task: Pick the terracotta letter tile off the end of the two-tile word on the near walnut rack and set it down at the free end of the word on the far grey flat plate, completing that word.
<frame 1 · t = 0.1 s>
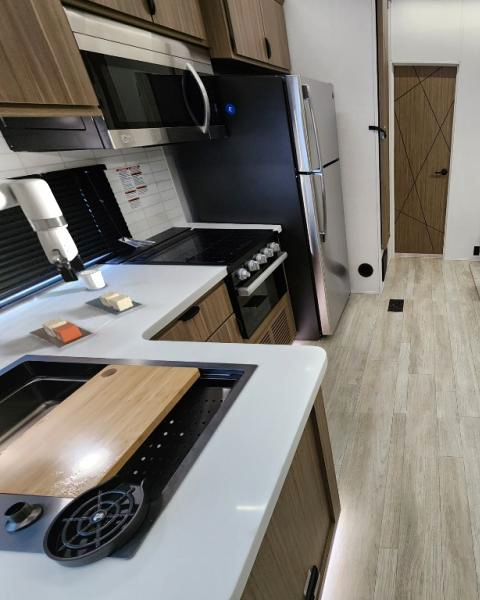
hand: (76, 275, 106), 19 cm above the worktop, tool pointing down, fingers open, 9 cm apart
terracotta tile: (70, 337, 107), point 1 cm above the worktop, touching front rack
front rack: (61, 334, 110), on the worktop
front cream tile: (59, 332, 110), point 1 cm above the worktop, touching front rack
shot glass: (96, 287, 142), on the worktop
back tile b: (113, 303, 127), point 1 cm above the worktop, touching grey flat plate
back tile a: (123, 307, 125), point 1 cm above the worktop, touching grey flat plate
grey flat plate: (113, 304, 128), on the worktop
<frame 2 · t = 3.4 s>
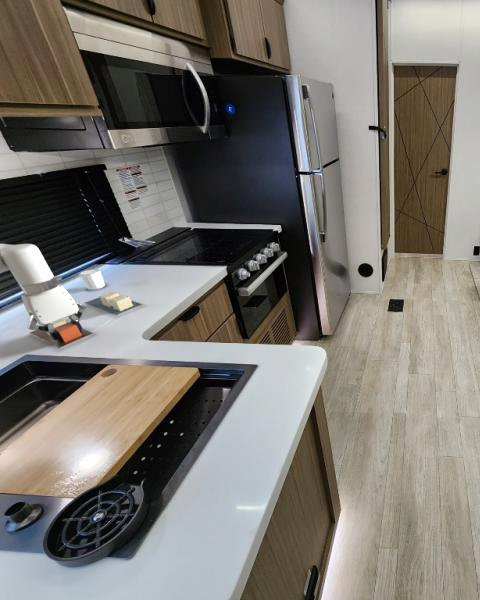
hand: (69, 335, 107), 1 cm above the worktop, tool pointing down, fingers closed on terracotta tile, 4 cm apart
terracotta tile: (70, 337, 107), point 1 cm above the worktop, touching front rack, gripper
everything else where it was.
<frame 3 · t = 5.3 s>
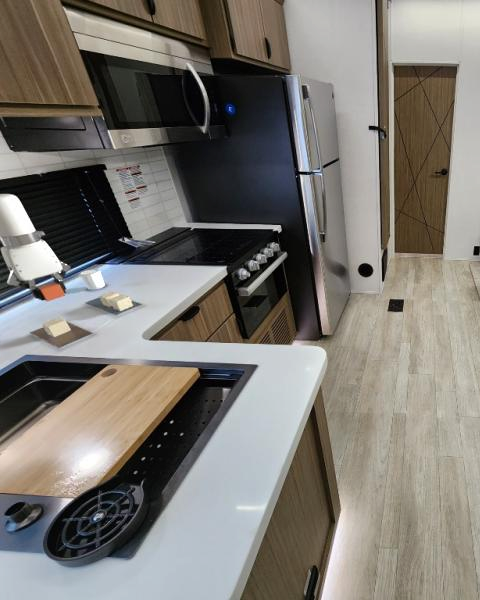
hand: (52, 295, 103), 15 cm above the worktop, tool pointing down, fingers closed on terracotta tile, 4 cm apart
terracotta tile: (53, 297, 103), point 14 cm above the worktop, touching gripper
everything else where it was.
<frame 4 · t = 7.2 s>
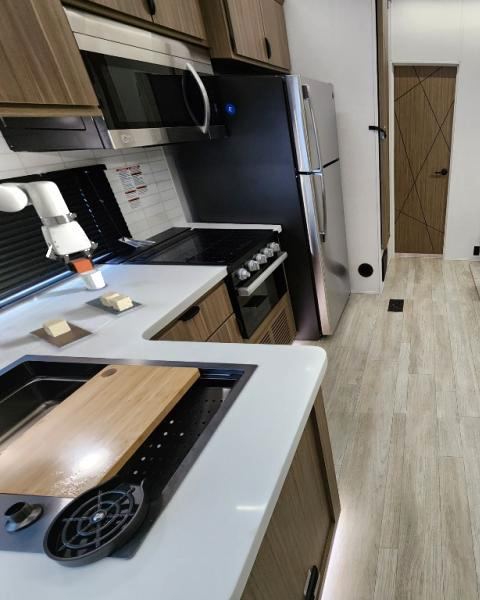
hand: (82, 269, 121), 15 cm above the worktop, tool pointing down, fingers closed on terracotta tile, 4 cm apart
terracotta tile: (83, 270, 121), point 14 cm above the worktop, touching gripper
everything else where it was.
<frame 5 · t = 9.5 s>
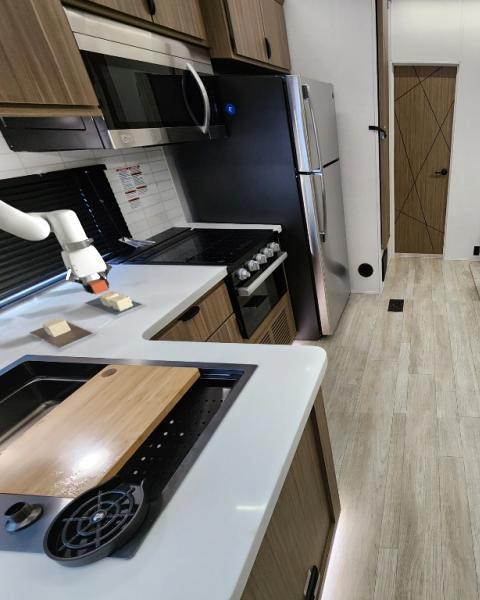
hand: (98, 289, 128), 5 cm above the worktop, tool pointing down, fingers closed on terracotta tile, 4 cm apart
terracotta tile: (99, 291, 128), point 4 cm above the worktop, touching gripper
everything else where it was.
when the fingers open (1 cm above the worktop, at t = 10.9 s): terracotta tile stays where it is, resting on grey flat plate.
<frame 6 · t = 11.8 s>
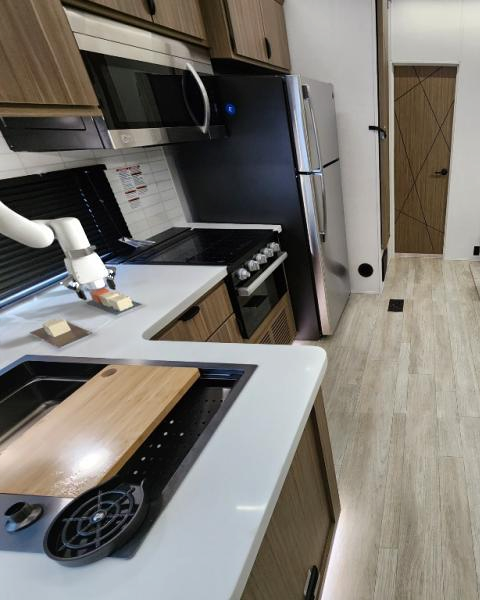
hand: (99, 294, 129), 3 cm above the worktop, tool pointing down, fingers open, 9 cm apart
terracotta tile: (103, 299, 130), point 1 cm above the worktop, touching grey flat plate
everything else where it was.
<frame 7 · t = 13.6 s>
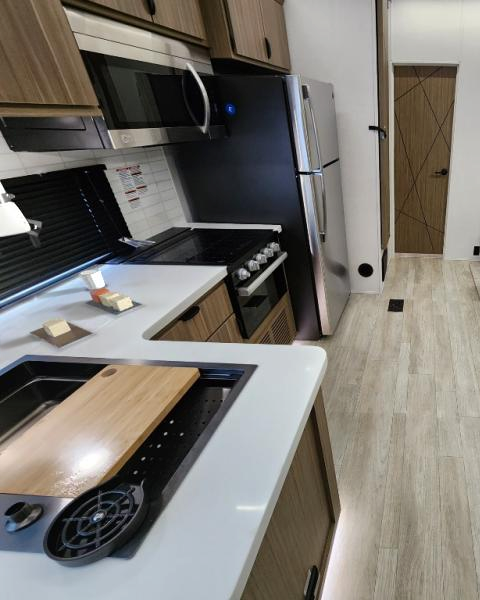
hand: (19, 251, 113), 23 cm above the worktop, tool pointing down, fingers open, 9 cm apart
nothing on the worktop moved.
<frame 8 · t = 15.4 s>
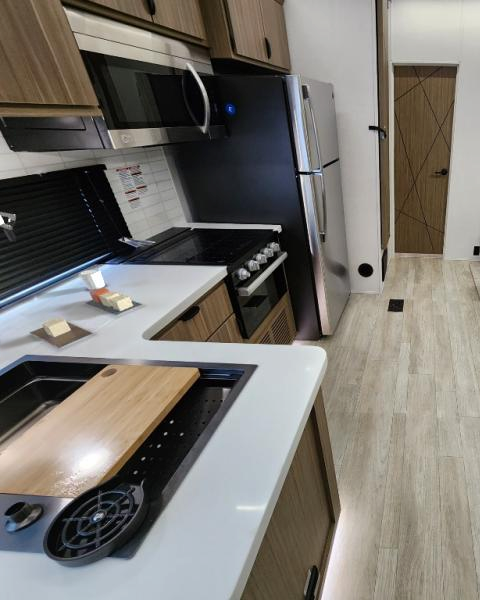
nothing on the worktop moved.
at the end: terracotta tile 0.1 cm from the target spot on the grey flat plate, point 0.6 cm above the grey flat plate's base; terracotta tile tilted 0°; back tile b moved 0.0 cm from its start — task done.
